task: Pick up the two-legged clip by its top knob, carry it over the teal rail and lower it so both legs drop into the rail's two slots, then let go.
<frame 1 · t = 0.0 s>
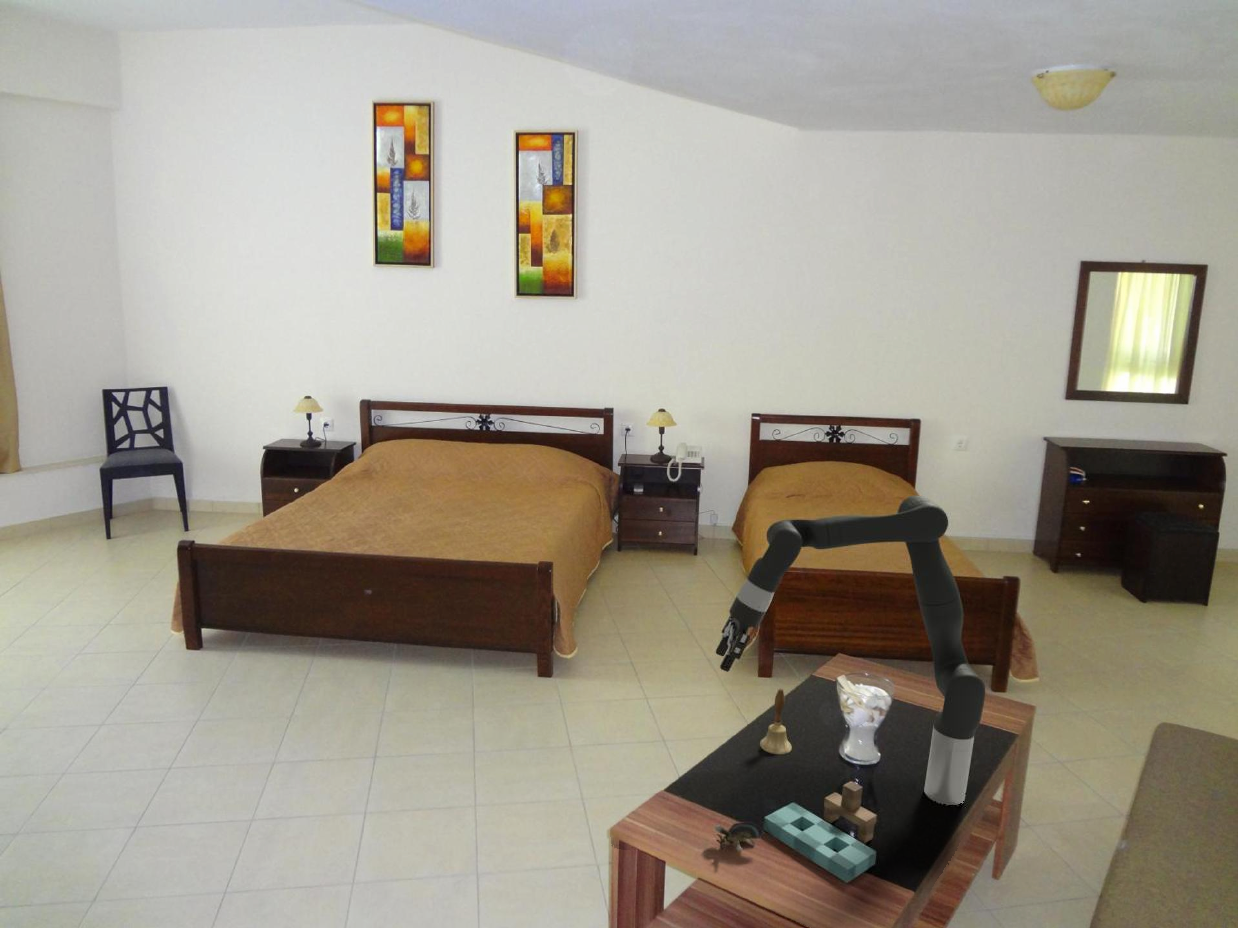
hand: (721, 661, 206), 31 cm above the table, tool tilted 20°, fingers open, 8 cm apart
hand bell: (775, 747, 232), on the table
brown animal figure: (736, 849, 189), on the table
rail: (817, 846, 191), on the table
clip: (847, 828, 198), on the table
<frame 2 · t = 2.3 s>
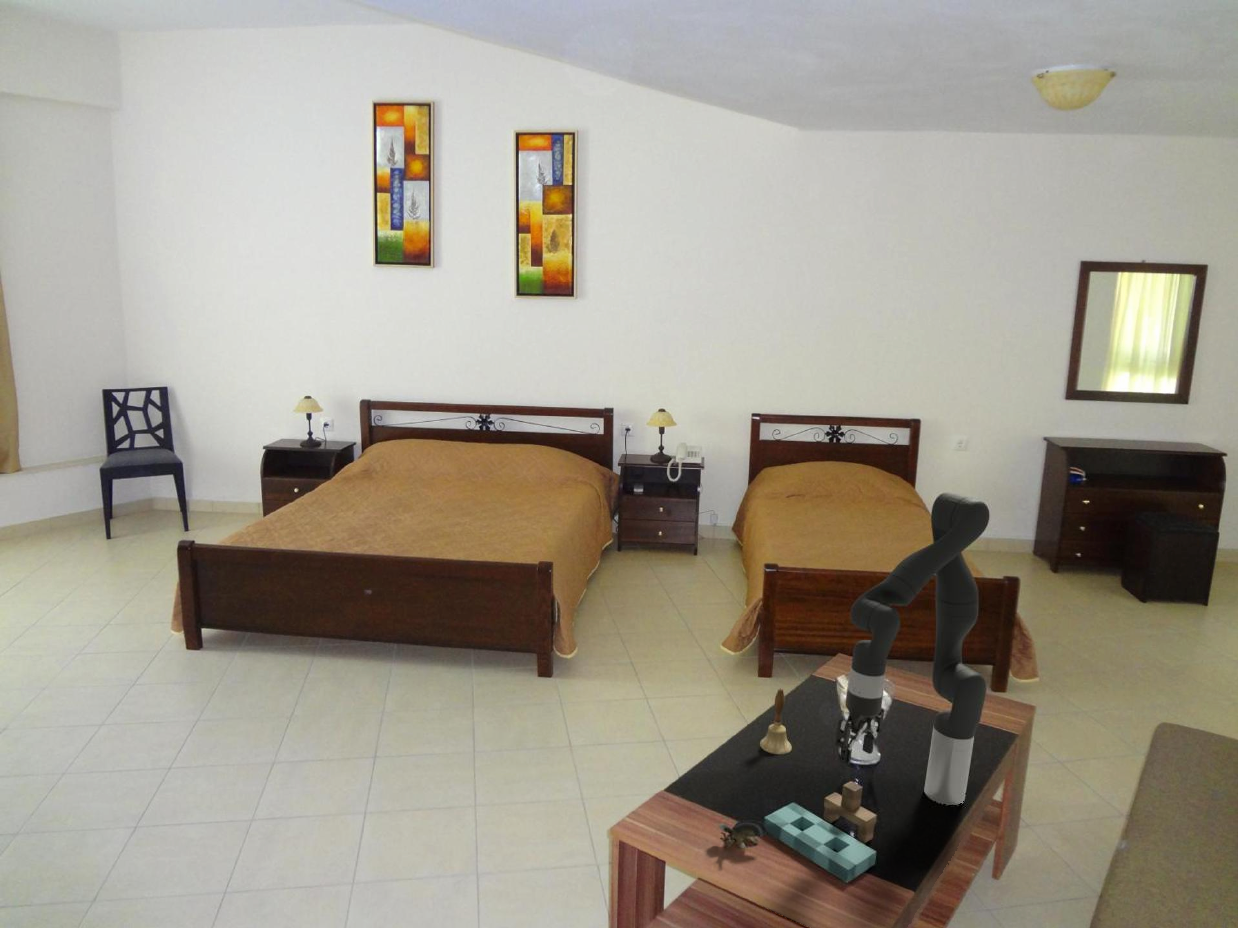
hand: (856, 757, 194), 17 cm above the table, tool pointing down, fingers open, 8 cm apart
brown animal figure: (740, 847, 189), on the table
everything else where it was.
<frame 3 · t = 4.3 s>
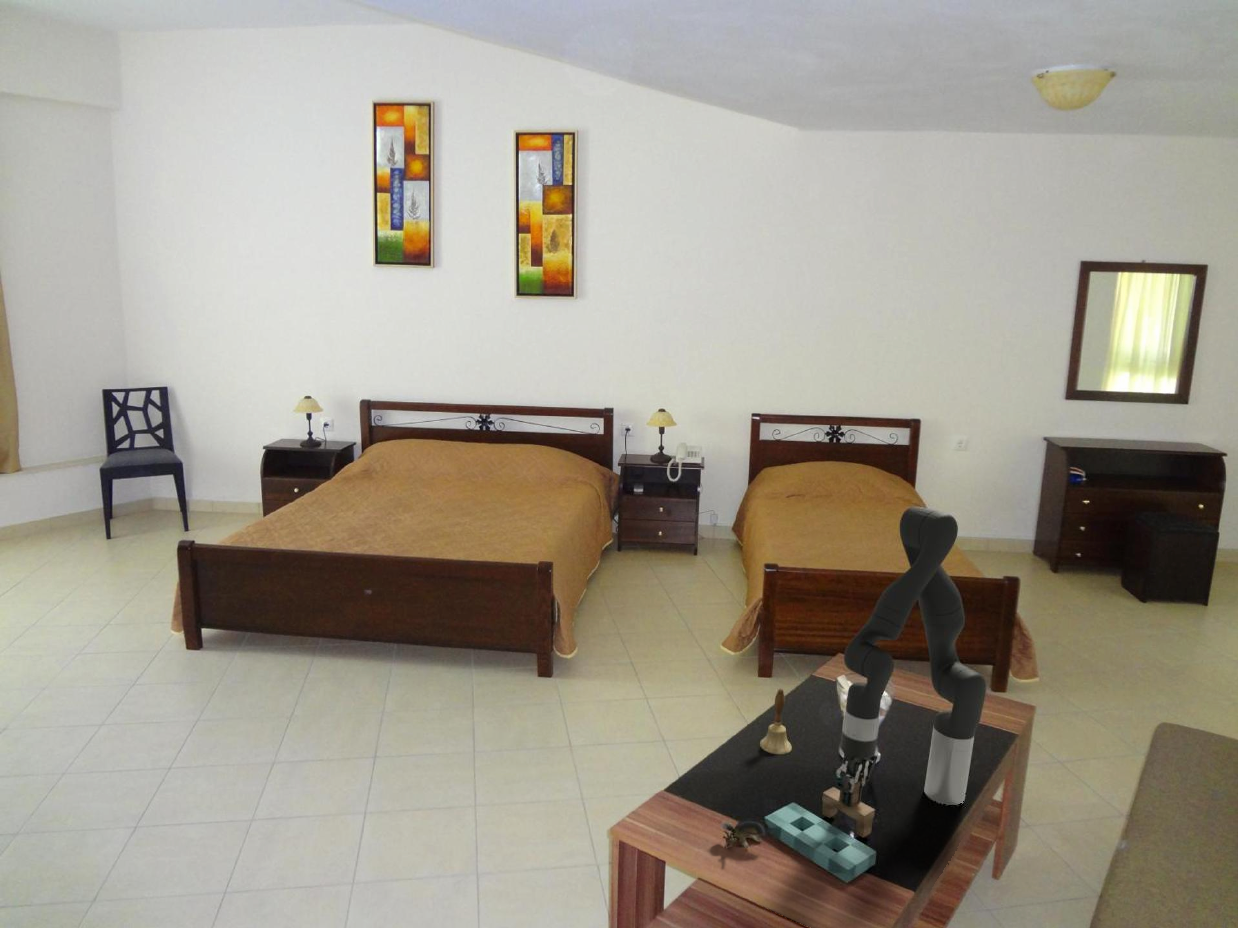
hand: (851, 801, 197), 7 cm above the table, tool pointing down, fingers closed on clip, 3 cm apart
clip: (845, 822, 198), point 1 cm above the table, touching gripper
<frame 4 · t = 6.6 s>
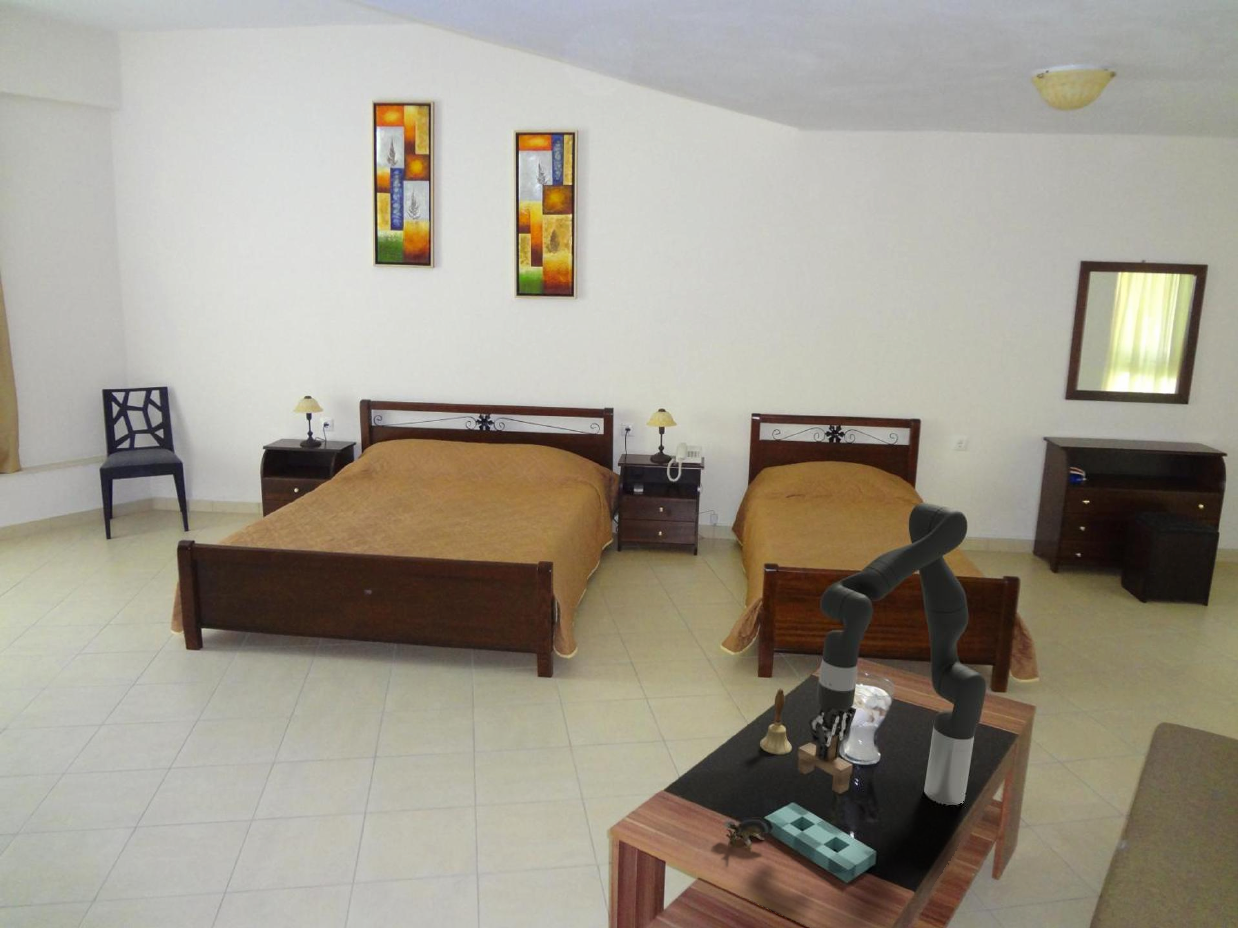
hand: (827, 756, 187), 21 cm above the table, tool pointing down, fingers closed on clip, 3 cm apart
brown animal figure: (746, 843, 191), on the table
clip: (822, 779, 188), point 16 cm above the table, touching gripper
everything else where it was.
when the fingers open (8 cm above the table, at t = 9.2 s): clip drops 2 cm, on the table.
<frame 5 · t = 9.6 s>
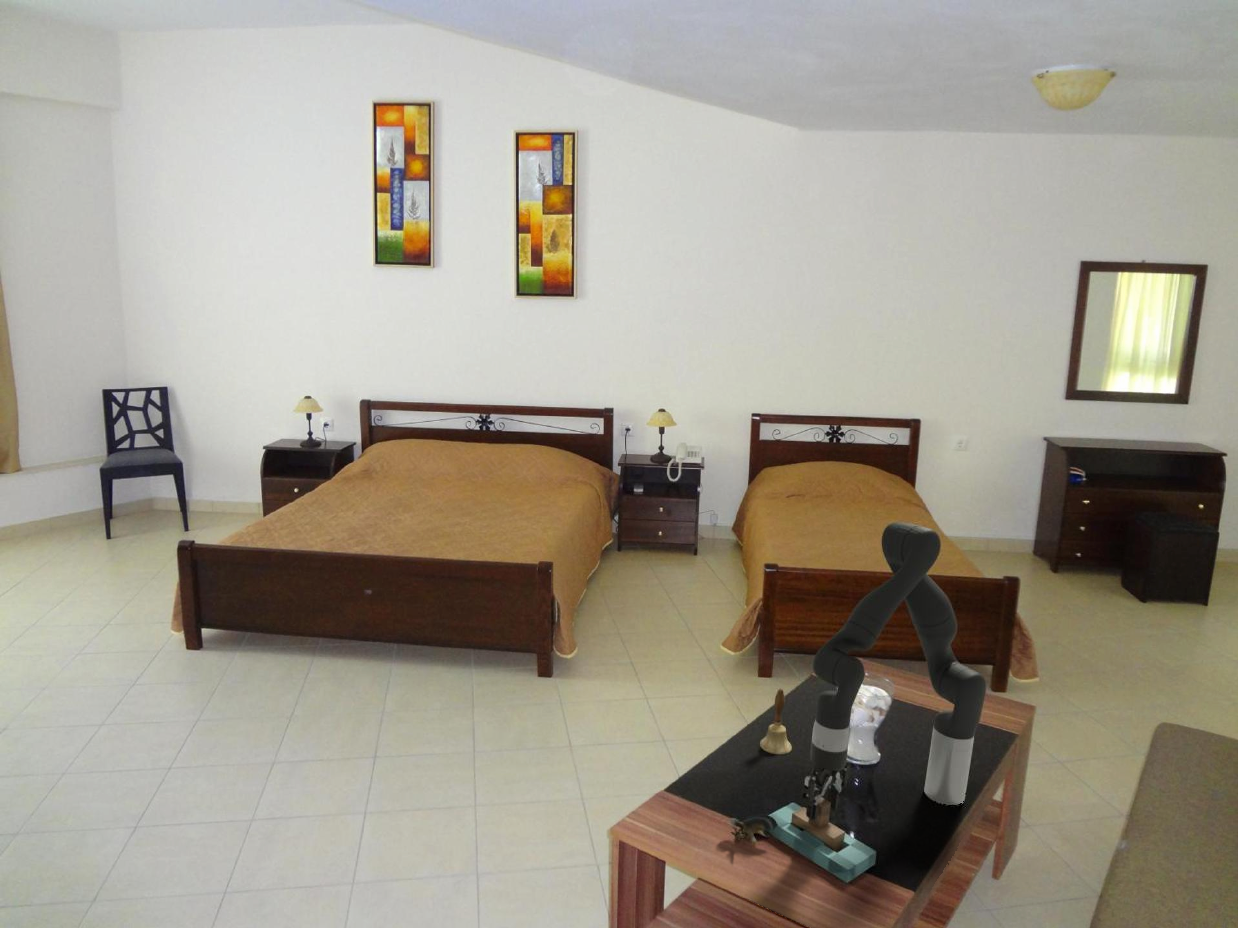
hand: (821, 811, 189), 8 cm above the table, tool pointing down, fingers open, 6 cm apart
brown animal figure: (750, 841, 192), on the table
clip: (815, 845, 191), on the table
everything else where it was.
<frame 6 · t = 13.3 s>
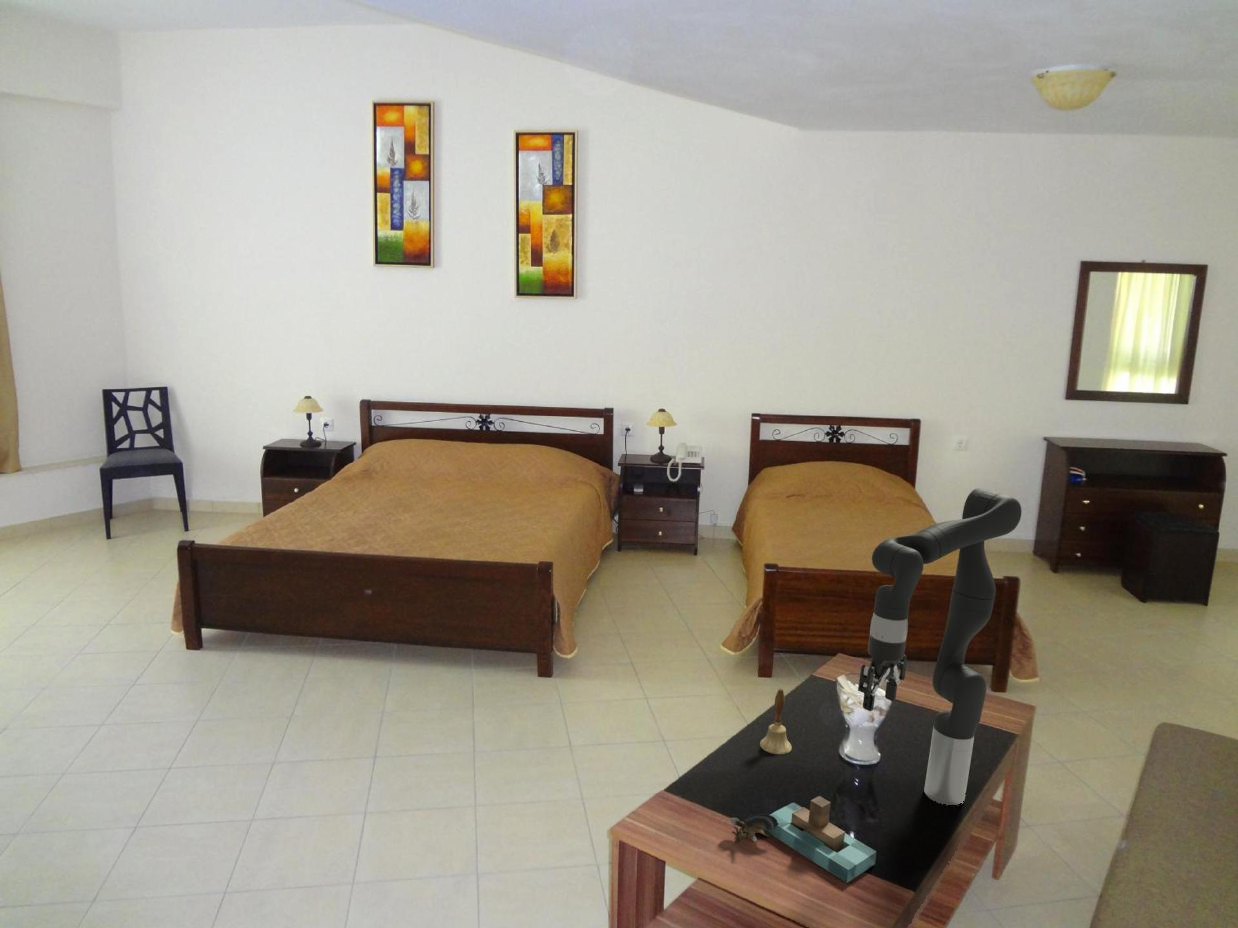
hand: (879, 704, 192), 30 cm above the table, tool pointing down, fingers open, 8 cm apart
at the end: clip 0.5 cm off-centre on the rail, point 0.0 cm above the rail's base; clip tilted 0°; the gripper is holding nothing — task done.
